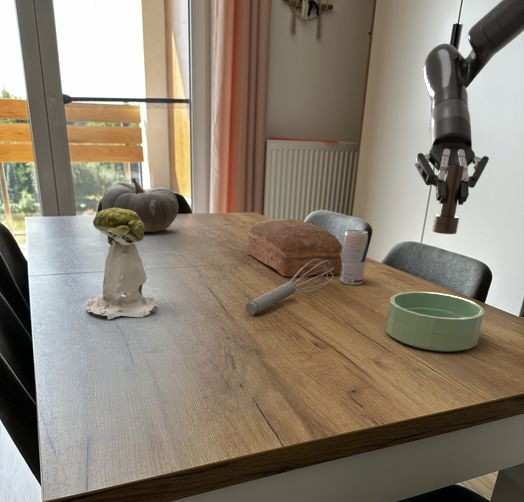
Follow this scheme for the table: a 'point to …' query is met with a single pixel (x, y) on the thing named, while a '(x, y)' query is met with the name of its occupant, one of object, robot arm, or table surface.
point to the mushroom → (121, 266)
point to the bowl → (434, 321)
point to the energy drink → (354, 257)
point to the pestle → (449, 202)
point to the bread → (294, 247)
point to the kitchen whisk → (279, 293)
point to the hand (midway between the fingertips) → (452, 201)
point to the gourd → (143, 204)
